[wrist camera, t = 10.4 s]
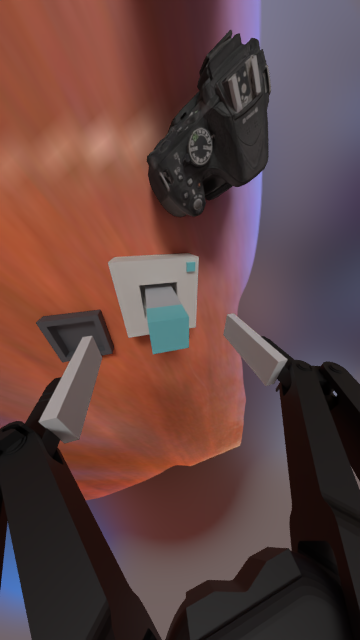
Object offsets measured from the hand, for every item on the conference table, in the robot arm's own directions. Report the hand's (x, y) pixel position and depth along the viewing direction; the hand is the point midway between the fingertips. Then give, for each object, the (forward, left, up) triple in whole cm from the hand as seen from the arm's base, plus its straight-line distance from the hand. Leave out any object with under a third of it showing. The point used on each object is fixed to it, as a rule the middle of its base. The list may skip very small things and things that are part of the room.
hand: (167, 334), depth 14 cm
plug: (0, 0, -13) cm, 13 cm away
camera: (+7, +16, -14) cm, 23 cm away
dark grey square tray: (-15, -7, -14) cm, 22 cm away
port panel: (0, 0, -14) cm, 14 cm away
